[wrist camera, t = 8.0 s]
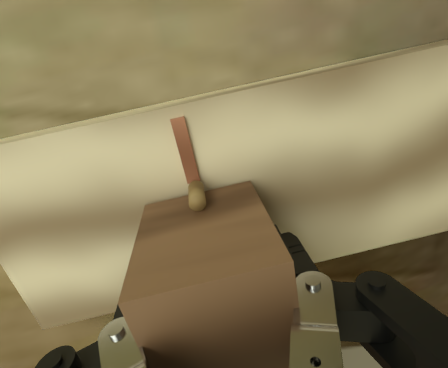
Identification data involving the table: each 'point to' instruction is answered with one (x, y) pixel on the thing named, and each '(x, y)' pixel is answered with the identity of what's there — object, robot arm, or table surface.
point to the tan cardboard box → (210, 282)
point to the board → (230, 172)
